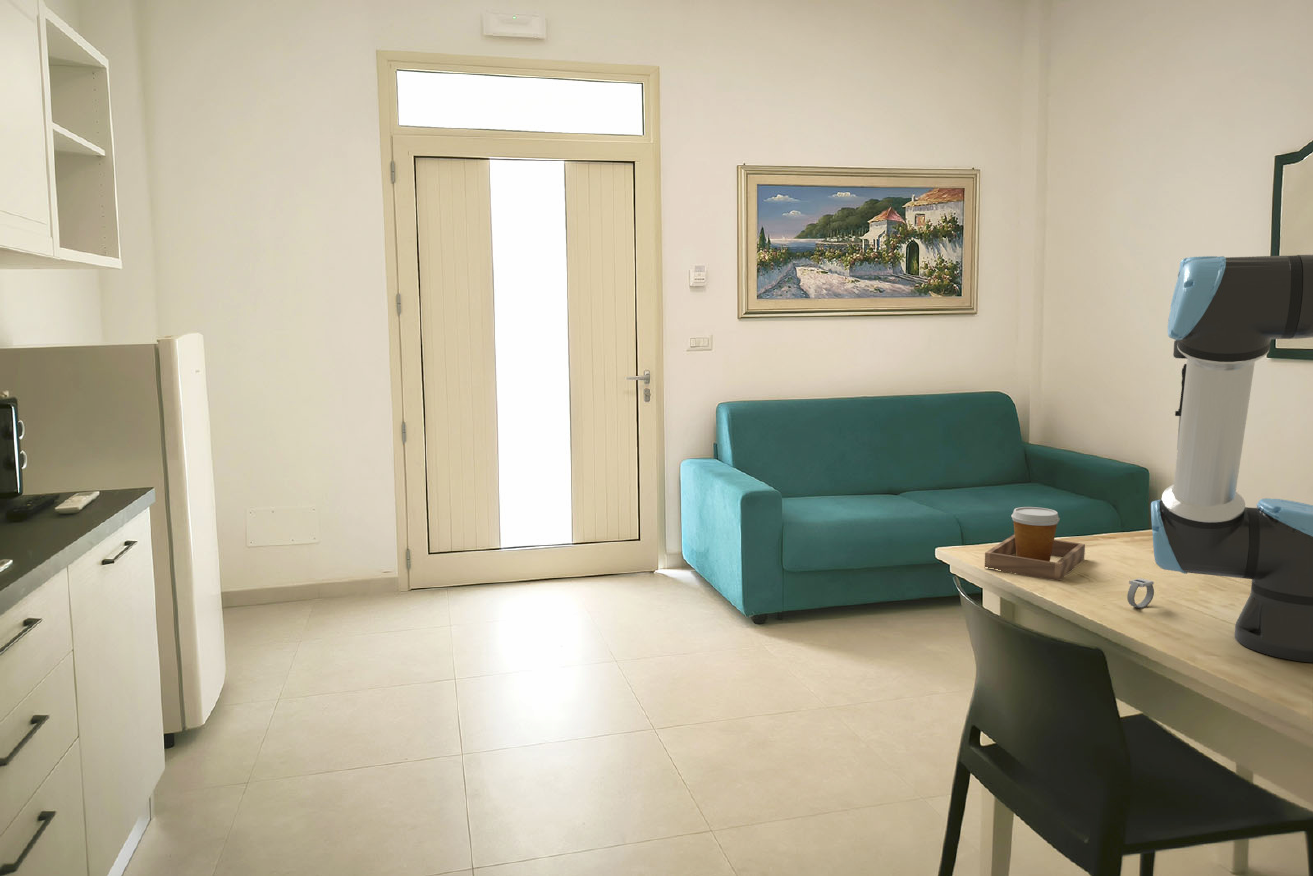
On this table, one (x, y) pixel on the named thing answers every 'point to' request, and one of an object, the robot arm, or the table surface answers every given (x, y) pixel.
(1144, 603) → the wristwatch
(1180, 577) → the table surface
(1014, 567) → the rectangular wooden frame
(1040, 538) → the disposable coffee cup
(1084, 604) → the table surface
